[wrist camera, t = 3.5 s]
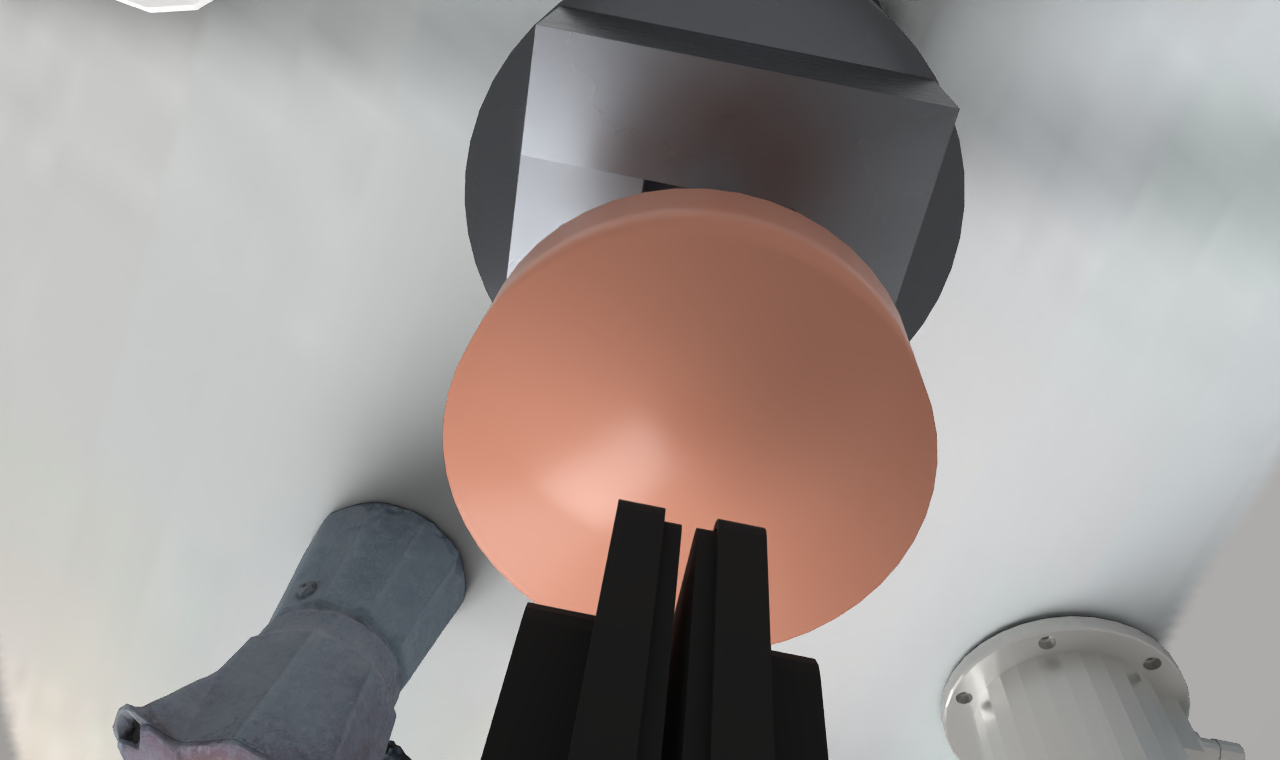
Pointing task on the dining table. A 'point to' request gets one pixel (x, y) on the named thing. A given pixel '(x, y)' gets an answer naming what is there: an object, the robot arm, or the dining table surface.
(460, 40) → the dining table surface
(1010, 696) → the robot arm
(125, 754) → the moka pot
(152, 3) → the plate
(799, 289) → the pink rounded piece
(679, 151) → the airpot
